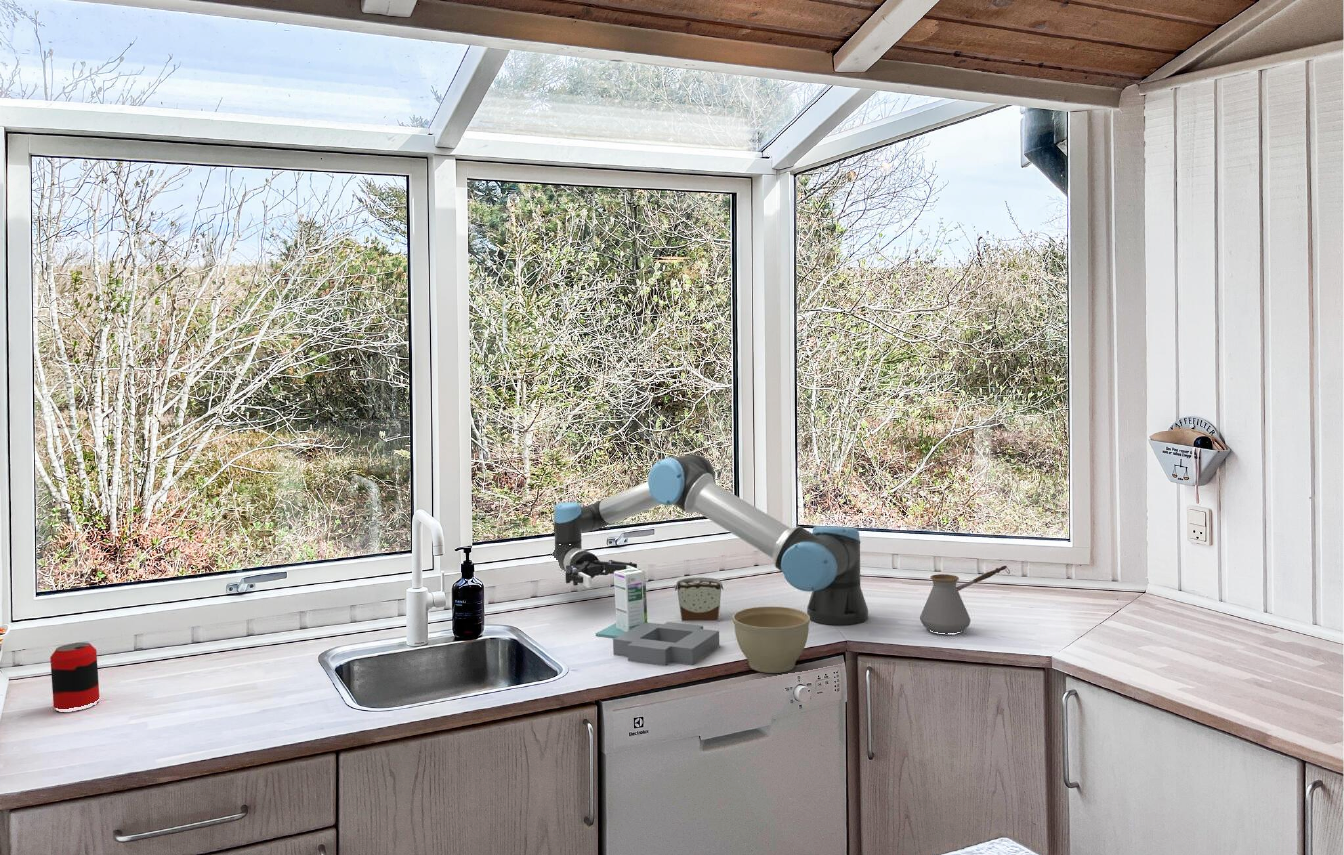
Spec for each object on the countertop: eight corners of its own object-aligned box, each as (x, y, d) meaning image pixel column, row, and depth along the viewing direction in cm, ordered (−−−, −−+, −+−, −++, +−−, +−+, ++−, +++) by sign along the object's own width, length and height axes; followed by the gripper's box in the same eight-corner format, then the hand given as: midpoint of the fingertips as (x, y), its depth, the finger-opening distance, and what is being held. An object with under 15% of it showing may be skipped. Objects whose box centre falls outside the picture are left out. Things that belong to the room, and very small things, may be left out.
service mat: (668, 627, 220) (668, 624, 220) (643, 641, 209) (643, 639, 209) (622, 621, 226) (622, 619, 226) (595, 635, 214) (595, 633, 214)
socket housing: (723, 642, 206) (723, 627, 206) (687, 668, 188) (686, 652, 188) (649, 633, 215) (648, 619, 214) (607, 657, 197) (607, 642, 197)
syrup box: (628, 633, 213) (626, 573, 212) (615, 628, 218) (613, 569, 217) (648, 629, 216) (646, 570, 216) (635, 624, 221) (633, 566, 220)
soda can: (71, 715, 171) (67, 654, 171) (44, 710, 174) (40, 650, 173) (108, 701, 178) (104, 642, 178) (82, 697, 181) (78, 639, 181)
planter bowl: (731, 679, 181) (730, 626, 181) (736, 654, 197) (735, 605, 197) (811, 680, 179) (810, 627, 178) (810, 655, 195) (809, 606, 194)
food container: (725, 615, 230) (724, 576, 229) (724, 621, 224) (723, 582, 223) (677, 615, 231) (676, 577, 231) (675, 621, 225) (674, 582, 224)
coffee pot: (929, 638, 204) (929, 574, 204) (913, 625, 216) (912, 564, 215) (1020, 634, 206) (1019, 570, 205) (999, 621, 217) (998, 560, 216)
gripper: (623, 571, 250) (658, 586, 231) (539, 583, 238) (569, 600, 219) (622, 545, 249) (657, 558, 231) (538, 556, 238) (568, 570, 219)
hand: (614, 578), depth 225 cm, fingers open, 13 cm apart
